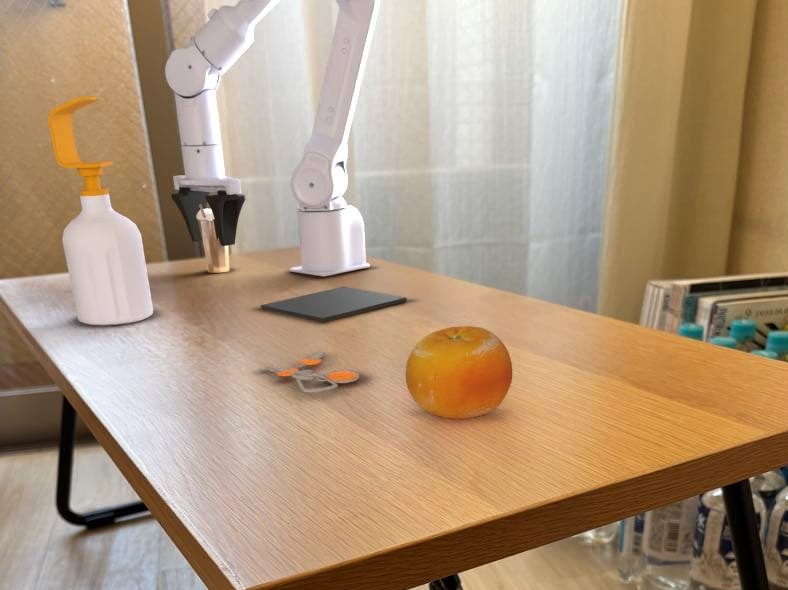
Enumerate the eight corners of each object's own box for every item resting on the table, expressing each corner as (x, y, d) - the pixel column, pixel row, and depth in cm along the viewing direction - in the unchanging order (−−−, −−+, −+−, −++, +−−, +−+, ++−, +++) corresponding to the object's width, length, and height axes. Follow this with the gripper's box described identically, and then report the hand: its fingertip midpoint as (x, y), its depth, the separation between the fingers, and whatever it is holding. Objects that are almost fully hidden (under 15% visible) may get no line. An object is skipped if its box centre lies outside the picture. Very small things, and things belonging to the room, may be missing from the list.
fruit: (371, 370, 74) (424, 290, 70) (438, 384, 80) (491, 311, 76) (424, 439, 70) (483, 358, 66) (490, 448, 76) (548, 374, 72)
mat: (344, 290, 121) (343, 286, 121) (406, 301, 113) (406, 297, 113) (260, 309, 112) (260, 304, 112) (322, 322, 105) (322, 318, 104)
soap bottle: (133, 327, 106) (93, 96, 95) (64, 326, 108) (17, 99, 97) (166, 310, 114) (133, 94, 103) (100, 309, 116) (61, 97, 104)
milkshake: (195, 274, 136) (186, 204, 131) (212, 268, 140) (203, 200, 136) (222, 275, 134) (214, 204, 130) (238, 268, 139) (230, 200, 134)
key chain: (372, 386, 81) (371, 376, 81) (294, 398, 79) (294, 389, 78) (326, 353, 92) (325, 345, 91) (256, 364, 89) (255, 355, 89)
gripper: (150, 145, 131) (164, 242, 137) (206, 147, 122) (218, 250, 128) (191, 142, 136) (203, 236, 142) (248, 144, 126) (258, 244, 132)
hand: (213, 242), depth 135 cm, fingers open, 7 cm apart
